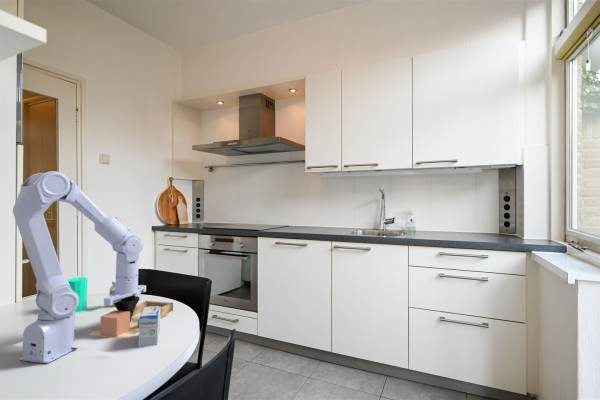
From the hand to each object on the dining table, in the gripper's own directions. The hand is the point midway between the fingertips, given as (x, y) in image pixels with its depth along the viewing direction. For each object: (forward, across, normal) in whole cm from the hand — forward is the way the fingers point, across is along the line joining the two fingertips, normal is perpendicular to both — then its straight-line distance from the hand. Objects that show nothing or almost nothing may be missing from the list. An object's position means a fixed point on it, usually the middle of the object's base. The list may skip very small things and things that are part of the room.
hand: (125, 323), depth 90 cm
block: (+1, -4, 0) cm, 4 cm away
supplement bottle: (+2, +17, +17) cm, 24 cm away
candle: (+2, +12, +29) cm, 31 cm away
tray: (+2, +4, 0) cm, 5 cm away
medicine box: (+2, -6, -12) cm, 14 cm away
